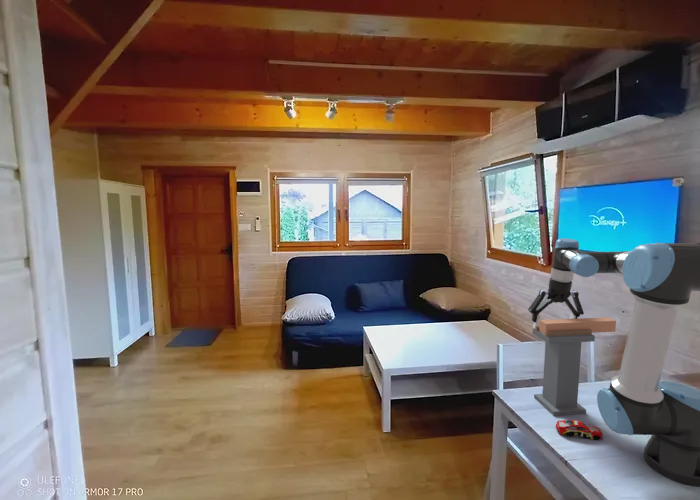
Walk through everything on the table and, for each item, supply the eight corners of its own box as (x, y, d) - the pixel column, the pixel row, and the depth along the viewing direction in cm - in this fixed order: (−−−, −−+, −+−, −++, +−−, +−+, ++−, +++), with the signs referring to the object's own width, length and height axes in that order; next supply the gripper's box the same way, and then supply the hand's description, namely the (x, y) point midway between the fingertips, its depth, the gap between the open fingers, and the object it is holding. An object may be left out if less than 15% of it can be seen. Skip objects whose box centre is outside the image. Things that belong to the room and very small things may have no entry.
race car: (599, 432, 123) (600, 421, 122) (605, 443, 118) (606, 431, 117) (554, 426, 126) (554, 415, 126) (558, 436, 121) (559, 424, 121)
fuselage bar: (606, 327, 139) (607, 317, 138) (615, 331, 135) (616, 320, 134) (538, 330, 136) (539, 320, 136) (545, 334, 132) (546, 323, 132)
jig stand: (569, 395, 145) (573, 321, 141) (591, 413, 133) (597, 332, 130) (527, 398, 144) (531, 323, 140) (546, 416, 132) (551, 334, 128)
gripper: (588, 276, 147) (579, 326, 153) (523, 275, 148) (516, 324, 154) (600, 283, 140) (590, 335, 146) (532, 281, 141) (524, 333, 146)
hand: (552, 329), depth 150 cm, fingers open, 13 cm apart
